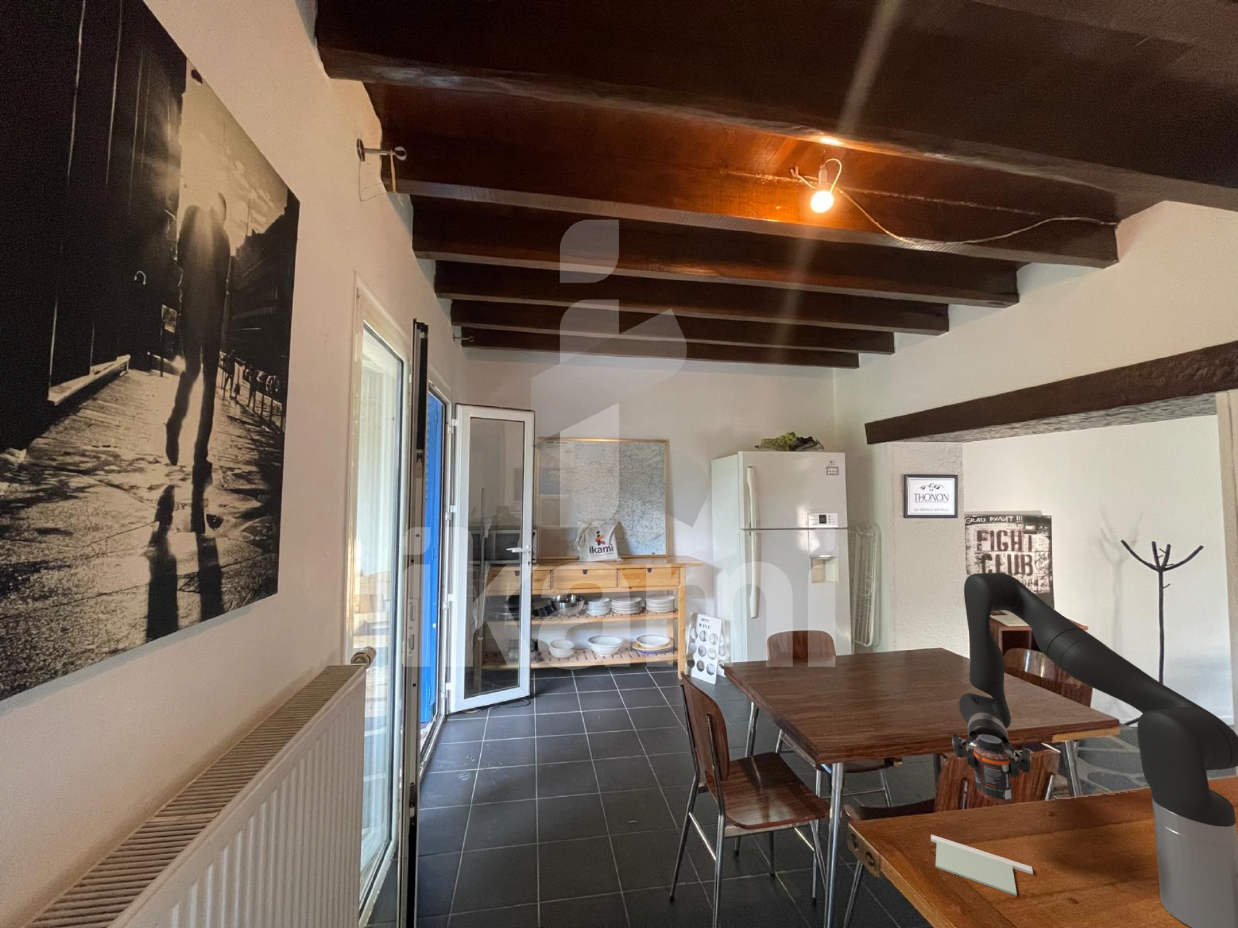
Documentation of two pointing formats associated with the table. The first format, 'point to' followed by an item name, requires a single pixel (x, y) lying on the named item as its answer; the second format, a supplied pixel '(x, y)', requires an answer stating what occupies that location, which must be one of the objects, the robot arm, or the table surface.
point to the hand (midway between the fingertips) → (992, 767)
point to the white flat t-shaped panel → (977, 865)
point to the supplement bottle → (993, 770)
